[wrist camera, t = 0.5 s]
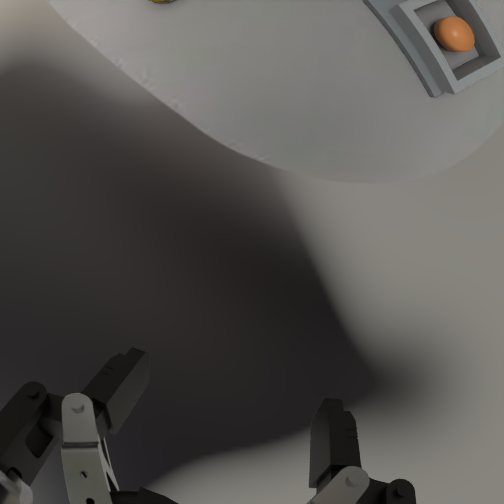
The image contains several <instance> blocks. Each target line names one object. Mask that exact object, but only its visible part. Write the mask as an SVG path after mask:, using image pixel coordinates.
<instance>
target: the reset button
mask: <svg viewBox="0 0 504 504" xmlns="http://www.w3.org/2000/svg"><path fill="white" fill-rule="evenodd" d="M434 34H435V37H436V39H437V41H438V42H439V43H440V44H441V45H442V46H443V47H444V48H445V49H447V50H449V51H469V50H471V49H472V48H473V46H474V42H475V39H474V34H473V32H472V30H471V28H470V26H469V25H468V24H467V23H466V22H465V21H464V20H463V19H461V18H459V17H456V16H451V17H447V18H443V19H439V20H437V21H436V22H435V24H434Z"/></svg>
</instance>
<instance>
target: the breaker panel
mask: <svg viewBox="0 0 504 504" xmlns="http://www.w3.org/2000/svg"><path fill="white" fill-rule="evenodd" d="M363 1H364V2H365V4H366V5H367V6H368V7H369V8H370V9H371V11H372V12H373V13H374V14H375V15H376V17H377V18H378V19H379V20H380V22H381V23H382V24H383V25H384V27H385V28H386V29H387V31H388V32H389V33H390V35H391V36H392V37H393V39H394V40H395V41H396V43H397V44H398V46H399V47H400V49H401V50H402V51H403V53H404V54H405V56H406V57H407V59H408V60H409V62H410V64H411V65H412V67H413V68H414V70H415V72H416V73H417V75H418V76H419V78H420V80H421V82H422V83H423V85H424V87H425V88H426V90H427V92H428V94H429V96H430V97H434V98H436V97H437V96H439V95H441V94H442V93H444V92H446V93H451V94H457V93H459V92H460V91H462V90H464V89H466V88H467V87H469V86H471V85H472V84H474V83H476V82H478V81H479V80H481V79H483V78H485V77H486V76H488V75H490V74H492V73H494V72H495V71H497V70H499V69H501V68H503V67H504V49H503V47H502V45H501V43H500V41H499V39H498V37H497V35H496V34H495V32H494V30H493V28H492V26H491V24H490V23H489V21H488V19H487V18H486V16H485V14H484V13H483V11H482V9H481V8H480V6H479V5H478V3H477V1H476V0H446V1H447V2H448V4H449V5H450V7H451V8H452V10H453V11H454V13H455V14H456V16H457V17H459V18H461V19H463V20H464V21H465V22H466V23H467V24H468V25H469V26H470V28H471V30H472V32H473V34H474V39H475V42H474V46H475V48H476V49H477V51H478V53H479V55H480V56H478V57H476V58H475V59H473V60H471V61H469V62H467V63H465V64H463V65H461V66H460V67H458V68H456V69H454V70H451V68H450V66H449V64H448V63H447V61H446V59H445V57H444V56H443V54H442V52H441V51H440V49H439V47H438V46H437V44H436V43H435V41H434V39H433V38H432V36H431V35H430V33H429V32H428V30H427V29H426V27H425V26H424V24H423V23H422V22H421V20H420V19H419V17H418V16H417V15H416V13H415V12H414V11H413V10H415V9H417V8H420V7H422V6H424V5H427V4H429V3H431V2H434V1H436V0H363Z"/></svg>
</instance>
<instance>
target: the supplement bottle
mask: <svg viewBox="0 0 504 504" xmlns="http://www.w3.org/2000/svg"><path fill="white" fill-rule="evenodd" d="M149 1H152V2H154V3H160V4H162V3H168V2H171V1H173V0H149Z"/></svg>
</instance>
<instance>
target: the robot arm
mask: <svg viewBox="0 0 504 504" xmlns="http://www.w3.org/2000/svg"><path fill="white" fill-rule="evenodd" d="M149 378H150V370H149V354H148V352H145V351H142V350H140V349H137V348H135V347H132V348H131V349H130V350H129V351H128V352H127V353H126V355H123V354H121V353H120V354H118V355H116V356H114V357H112V358H110V359H109V361H108V362H107V363H106V364H105V366H104V367H102V369H101V370H100V372H98V373H97V374H96V376H95V377H94V378H93V379H92V380H91V381H90V383H89V384H88V385H87V386H86V387H85V388H84V390H83V391H82V392H81V393H73V394H70V395H68V396H66V397H62V396H58V395H54V394H50V393H47V391H46V388H45V387H44V386H43V385H42V384H41V383H39V382H28V383H26V384H24V385H23V386H22V388H20V390H19V391H18V392H17V393H16V394H15V395H14V396H13V397H12V399H11V400H10V401H9V402H8V403H7V404H6V405H5V407H4V408H3V409H2V410H1V411H0V504H32V500H33V494H32V491H31V489H30V485H31V483H32V482H33V480H34V478H35V477H36V475H37V474H38V472H39V470H40V469H41V467H42V466H43V464H44V462H45V461H46V459H47V457H48V456H49V454H50V453H51V451H52V450H53V448H54V447H55V445H56V444H57V442H58V440H59V439H60V438H61V439H64V445H62V446H61V454H62V462H63V468H64V475H65V481H66V486H67V491H68V496H69V501H70V504H178V503H176V502H174V501H173V500H171V499H169V498H167V497H166V496H163V495H160V494H158V493H155V492H152V491H150V490H147V489H145V488H142V487H140V489H139V491H133V490H119V488H118V485H117V482H116V479H115V477H114V474H113V471H112V467H111V463H110V460H109V456H108V451H107V447H106V442H105V438H104V437H105V436H106V434H107V432H110V433H112V434H114V435H116V434H117V432H118V431H119V429H120V428H121V426H122V424H123V423H124V421H125V420H126V418H127V416H128V415H129V413H130V411H131V410H132V408H133V407H134V405H135V404H136V402H137V401H138V399H139V398H140V396H141V394H142V393H143V391H144V390H145V388H146V387H147V385H148V382H149ZM356 430H357V428H356V421H355V419H354V417H353V416H352V414H351V412H350V411H344V410H343V402H342V400H341V399H335V398H327V397H325V398H324V399H323V401H322V403H321V405H320V407H319V408H318V410H317V412H316V414H315V416H314V418H313V420H312V424H311V441H310V444H311V445H310V473H309V475H310V476H309V488H317V493H316V495H315V496H314V497H313V498H312V499H311V500H310V501H309V502H308V503H307V504H416V497H415V489H414V487H413V485H412V484H411V483H410V482H409V481H407V480H404V479H396V480H394V481H392V482H391V483H385V482H381V481H377V480H374V479H371V478H370V477H369V476H368V474H367V473H366V471H364V470H363V469H362V467H361V461H360V452H359V444H358V439H357V437H358V436H357V431H356Z"/></svg>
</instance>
